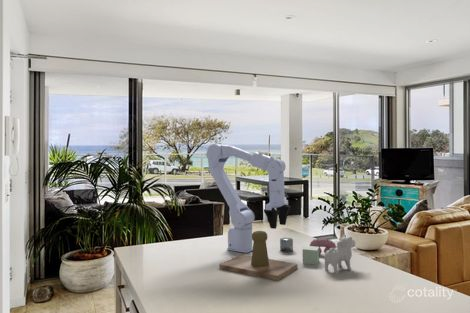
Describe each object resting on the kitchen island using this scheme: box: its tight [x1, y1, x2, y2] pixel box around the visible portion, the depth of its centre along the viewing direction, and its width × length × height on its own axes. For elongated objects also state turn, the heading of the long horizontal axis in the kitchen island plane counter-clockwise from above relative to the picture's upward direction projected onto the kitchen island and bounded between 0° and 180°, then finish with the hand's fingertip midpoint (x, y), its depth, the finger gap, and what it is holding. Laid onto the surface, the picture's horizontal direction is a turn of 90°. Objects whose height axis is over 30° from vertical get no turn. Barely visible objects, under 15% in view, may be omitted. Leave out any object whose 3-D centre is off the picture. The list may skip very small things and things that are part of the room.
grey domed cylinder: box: [279, 237, 294, 253], centre depth 147 cm, size 5×5×4 cm
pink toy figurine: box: [309, 238, 337, 255], centre depth 140 cm, size 10×5×7 cm, turn 73°
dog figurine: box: [323, 234, 356, 274], centre depth 123 cm, size 5×13×11 cm, turn 126°
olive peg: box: [251, 230, 269, 267], centre depth 124 cm, size 6×6×11 cm
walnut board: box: [218, 253, 298, 282], centre depth 125 cm, size 22×14×2 cm, turn 56°
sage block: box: [302, 245, 320, 266], centre depth 131 cm, size 5×5×5 cm
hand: (278, 226), depth 142 cm, fingers open, 7 cm apart
